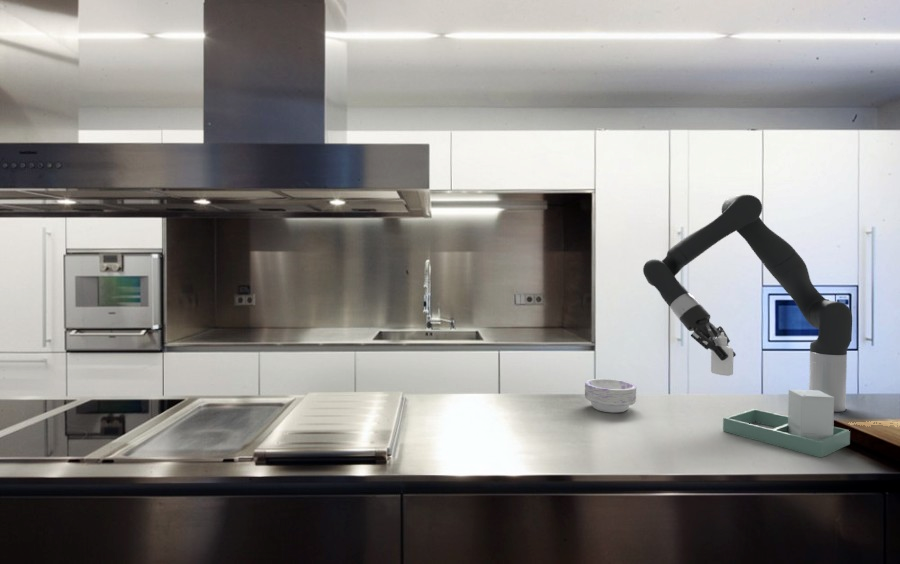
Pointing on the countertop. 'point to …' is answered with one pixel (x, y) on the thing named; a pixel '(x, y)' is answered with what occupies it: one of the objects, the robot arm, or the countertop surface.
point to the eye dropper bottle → (725, 365)
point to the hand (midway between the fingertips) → (729, 357)
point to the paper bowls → (610, 394)
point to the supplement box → (810, 414)
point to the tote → (782, 433)
